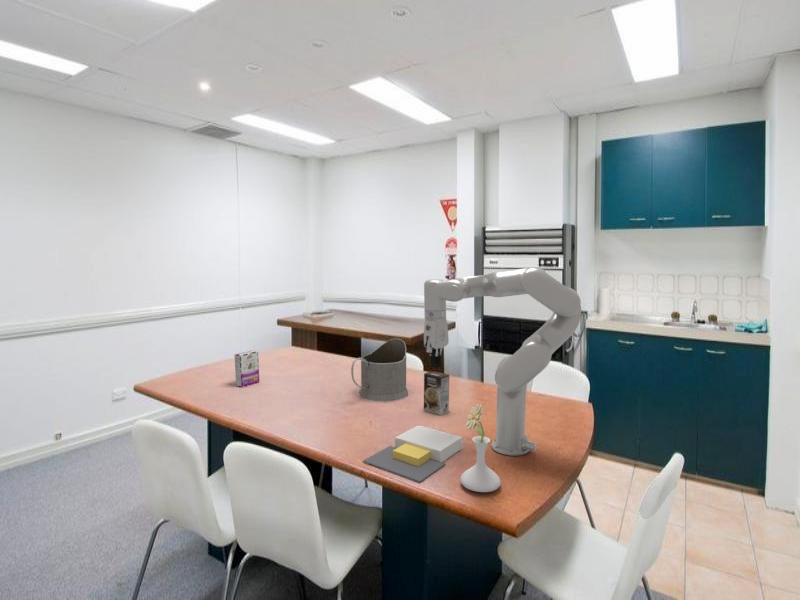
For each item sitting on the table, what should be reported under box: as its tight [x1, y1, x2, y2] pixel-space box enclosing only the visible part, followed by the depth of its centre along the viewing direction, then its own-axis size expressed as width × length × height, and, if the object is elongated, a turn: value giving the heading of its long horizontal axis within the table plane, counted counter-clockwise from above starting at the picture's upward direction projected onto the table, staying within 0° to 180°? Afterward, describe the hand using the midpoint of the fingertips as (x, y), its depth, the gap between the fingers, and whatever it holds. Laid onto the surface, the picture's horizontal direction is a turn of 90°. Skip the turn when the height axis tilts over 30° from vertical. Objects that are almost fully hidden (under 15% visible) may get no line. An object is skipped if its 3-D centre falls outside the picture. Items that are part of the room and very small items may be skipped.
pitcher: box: [350, 338, 409, 403], centre depth 212 cm, size 23×32×25 cm
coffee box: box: [423, 370, 450, 416], centre depth 192 cm, size 9×6×16 cm
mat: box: [362, 445, 446, 484], centre depth 144 cm, size 22×14×1 cm, turn 53°
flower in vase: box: [459, 403, 502, 493], centre depth 128 cm, size 13×11×25 cm
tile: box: [393, 443, 431, 466], centre depth 147 cm, size 10×7×2 cm
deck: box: [394, 425, 463, 463], centre depth 155 cm, size 18×14×4 cm
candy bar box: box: [234, 350, 260, 388], centre depth 232 cm, size 11×5×16 cm, turn 147°
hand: (435, 366), depth 161 cm, fingers closed
